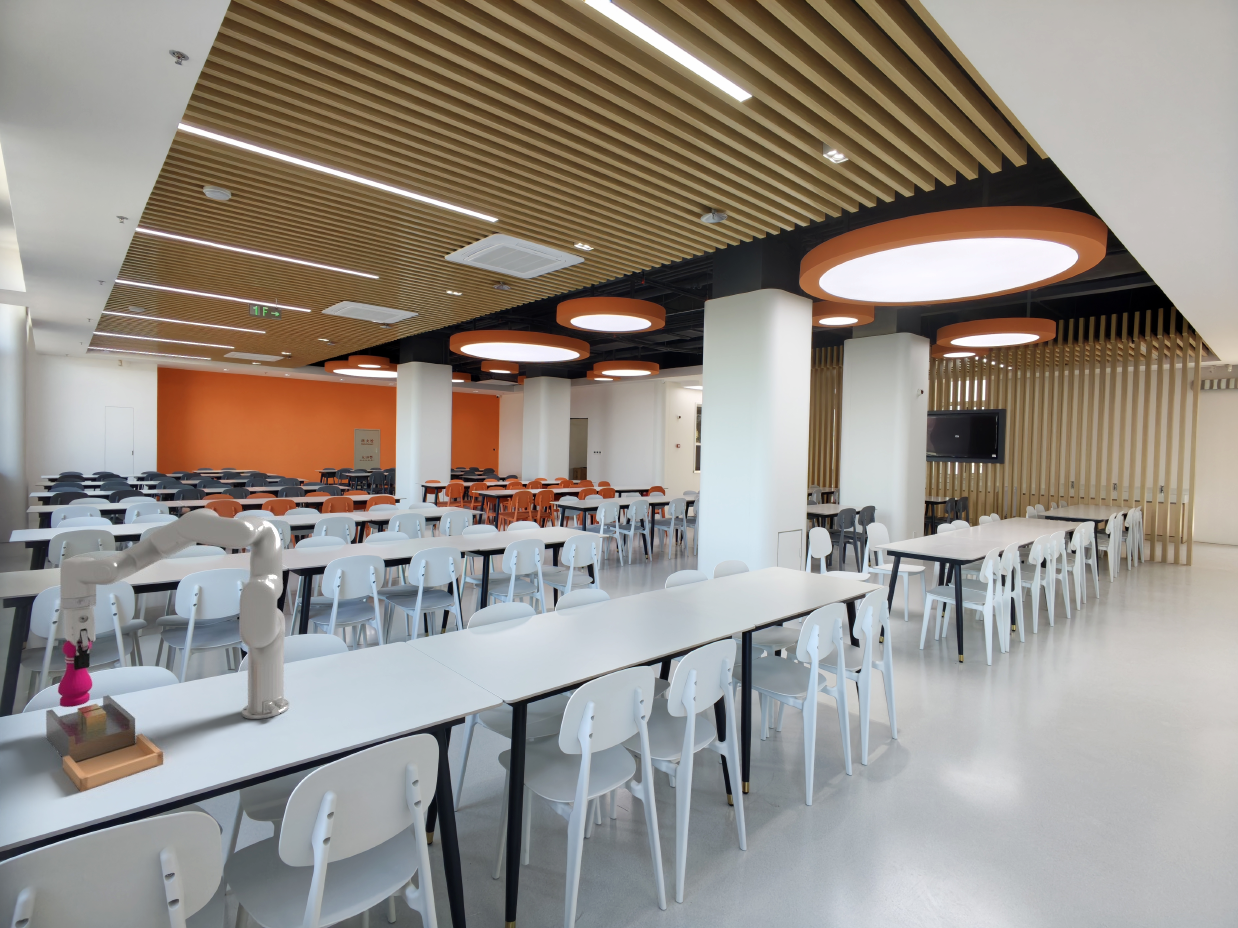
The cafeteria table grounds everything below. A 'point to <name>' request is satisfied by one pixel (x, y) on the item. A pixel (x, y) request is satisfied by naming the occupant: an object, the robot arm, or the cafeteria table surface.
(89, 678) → the pepper mill
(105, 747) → the channel bed
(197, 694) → the cafeteria table surface
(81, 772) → the tray
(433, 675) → the cafeteria table surface
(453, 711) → the cafeteria table surface
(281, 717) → the cafeteria table surface
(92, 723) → the yellow wooden cube
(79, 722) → the yellow tan cube
